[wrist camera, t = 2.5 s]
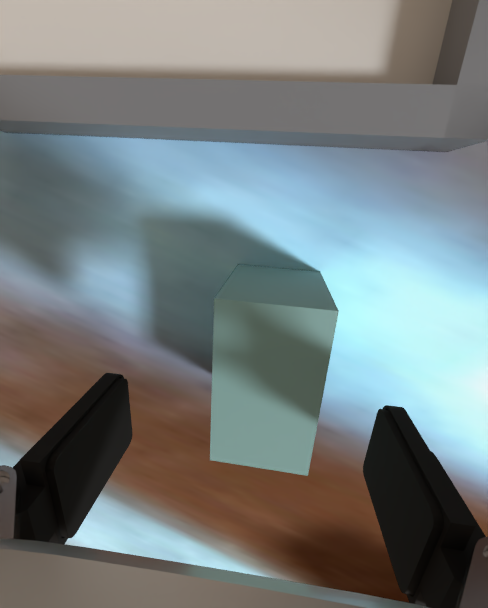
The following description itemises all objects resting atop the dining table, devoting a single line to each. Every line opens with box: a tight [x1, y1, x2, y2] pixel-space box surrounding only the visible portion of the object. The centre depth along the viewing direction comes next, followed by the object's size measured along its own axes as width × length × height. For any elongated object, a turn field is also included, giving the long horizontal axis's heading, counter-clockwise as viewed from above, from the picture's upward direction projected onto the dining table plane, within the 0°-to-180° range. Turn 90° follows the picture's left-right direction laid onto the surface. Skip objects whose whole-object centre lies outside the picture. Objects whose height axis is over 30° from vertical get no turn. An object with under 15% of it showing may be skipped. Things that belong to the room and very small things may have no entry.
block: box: [210, 264, 338, 476], centre depth 15 cm, size 4×8×6 cm, turn 177°
